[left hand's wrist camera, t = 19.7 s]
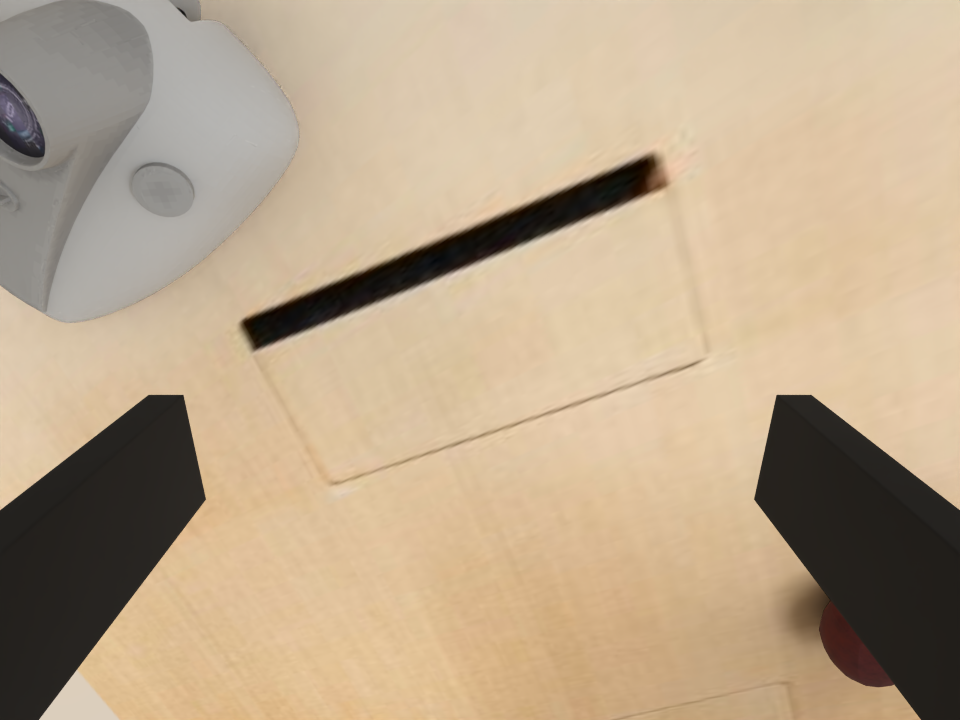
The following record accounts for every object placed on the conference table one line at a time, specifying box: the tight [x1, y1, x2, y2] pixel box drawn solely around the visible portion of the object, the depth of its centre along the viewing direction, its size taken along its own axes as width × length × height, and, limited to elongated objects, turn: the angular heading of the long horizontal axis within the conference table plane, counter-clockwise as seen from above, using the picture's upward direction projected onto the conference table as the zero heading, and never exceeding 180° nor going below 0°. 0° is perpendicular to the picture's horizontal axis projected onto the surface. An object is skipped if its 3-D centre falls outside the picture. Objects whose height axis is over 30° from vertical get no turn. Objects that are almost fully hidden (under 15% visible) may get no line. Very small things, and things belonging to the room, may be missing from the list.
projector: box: [0, 0, 299, 323], centre depth 30 cm, size 22×23×15 cm
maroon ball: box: [819, 601, 894, 687], centre depth 48 cm, size 7×8×7 cm
